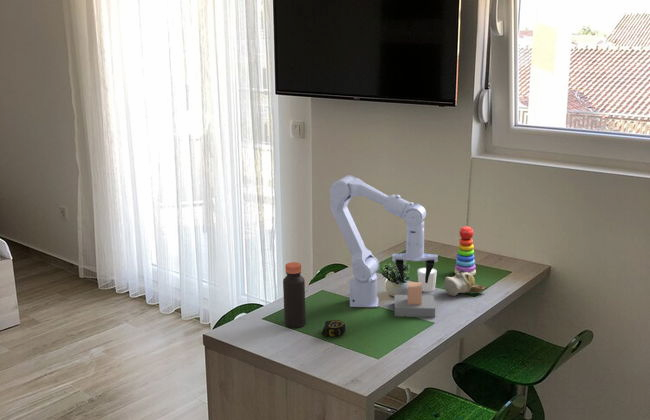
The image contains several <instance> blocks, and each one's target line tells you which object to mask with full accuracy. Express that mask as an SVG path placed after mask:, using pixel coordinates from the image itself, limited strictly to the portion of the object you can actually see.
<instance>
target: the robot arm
mask: <svg viewBox="0 0 650 420" xmlns="http://www.w3.org/2000/svg"><path fill="white" fill-rule="evenodd" d="M329 194H330V197H329V198H330V199H329V208H330V211H331V213H332V215H333V217H334V219H335V221H336V224H337V226H338V228H339V230H340V232H341V235H342V237H343V240H344V241H345V243H346V246H347V247H348V250H349V253H350V254H351V267H352V270H353V272H352V274H353V276H354V277H350V278H349V294H348V299H349V307H350V308H379V297H378V276H377V272H378V271H379V269H380V262H379V260H378V259H377V258H376V257H375V256H374V255H373V253H372V251H371V250H370V249H368V248H367V247H366V244H365V243H364V241H363V238H362V236H361V234H360V231H359V229H358V228H357V225H356V223H355V220H354V218H353V216H352V214H351V212H350V209H349V208H348V205H349V202H350V201H351V199H352V198H356V197H365V198H367V199H369V200H371V201H373V202H374V203H375V202H376V203H378V204H381V205H382V206H383V207H384V209H385V211H386V212H389V213H391V214H393V215H395V216H396V217H399V218H401V219H402V220H404V222H405V223H406V229H405V230H406V232H405V233H406V239H405V242H406V243H405V247H406V248H405V252H404V253H403V252H402V253H392V262H395V265H396V268H397V270H398V273H399V275H400V279H401V283H402V284H404V283H405V277H404V262H425V268H426V275H425V283H428V278H429V275H430V272H431V270H432V268H433V269H434V267H435V263H438V261H439V259H438V258H439V257H438V254H434V253H433V254H431V253H426V252H425V221H424V220H425V219H426V217H427V210H426V208H425V206H423V205H421V203H414V202H413V201H411V202H410V201H408V200H406V199H403V198H402V197H401V195H400V194H391V195H387V194H385V193H384V192H382V191H380V190H378V189H377V188H375V187H373V186H372V185H369V184H367V183H366V182H364V181H363V180H362V179H361V178H358V177H355V176H354V175H351V174H348V175H344V176H343V177H342V178H340V179H338V180H336V181H334V182H333V183H332V185H331V186H330V189H329Z"/></svg>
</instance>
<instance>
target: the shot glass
mask: <svg viewBox="0 0 650 420" xmlns="http://www.w3.org/2000/svg"><path fill="white" fill-rule="evenodd" d="M437 273H438V271H437V269H436V268H434V267H433V268H432V270H431V272H430V275H429V278H428V283H425V275H426V267H419V268H418V269H417V280H418V281H417V282H421V283H422V292H423V293H425V292H426V293H430V292H433V291H435V290H436V282H437Z"/></svg>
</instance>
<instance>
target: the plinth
mask: <svg viewBox="0 0 650 420" xmlns="http://www.w3.org/2000/svg"><path fill="white" fill-rule="evenodd" d="M405 316H406V317H409V318H410V317H411V318H412V317H413V318H416V317H417V318H436V305H435V297H434V295H431V294H429V295H424V294H422V305H418V304H408V294H394V317H405ZM406 317H405V318H406Z"/></svg>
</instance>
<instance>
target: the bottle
mask: <svg viewBox="0 0 650 420" xmlns="http://www.w3.org/2000/svg"><path fill="white" fill-rule="evenodd" d="M284 266H285V274H286V275H285V277H284V278H283V280H282V289H283V291H282V293H283V315H284V316H283V317H284V319H283V320H284V325H285V326H286V327H287V328H292V329H297V328H301V327H304V326H305V325H306V322H307V319H306V318H307V317H306V312H307V311H306V289H305V287H306V285H305V284H306V283H305V278H304V277H303V276H302V264H301V263H300V262H295V261H294V262H293V261H291V262H287V263H285V265H284Z"/></svg>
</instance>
